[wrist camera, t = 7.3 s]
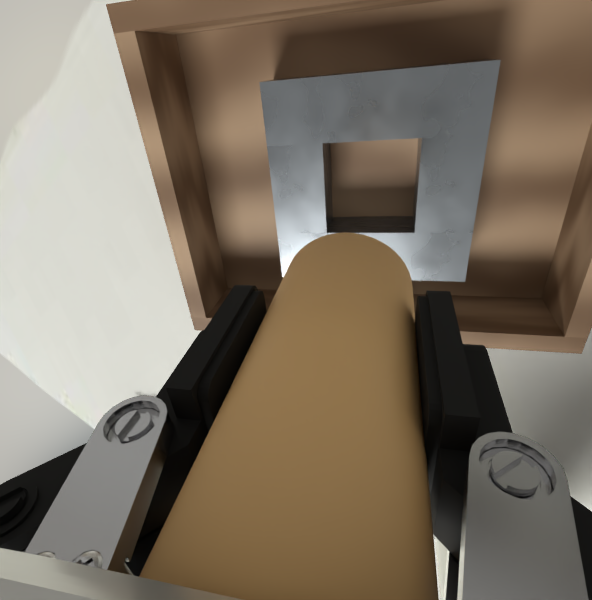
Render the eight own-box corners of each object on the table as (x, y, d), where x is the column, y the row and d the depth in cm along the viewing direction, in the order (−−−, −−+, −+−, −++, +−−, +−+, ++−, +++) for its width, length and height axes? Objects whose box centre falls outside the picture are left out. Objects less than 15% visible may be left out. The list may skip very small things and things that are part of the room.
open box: (551, 305, 28) (581, 353, 24) (221, 293, 34) (194, 330, 30) (661, -58, 18) (753, -97, 13) (161, 14, 24) (106, 4, 19)
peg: (417, 232, 11) (499, 828, 2) (408, 345, 13) (435, 870, 5) (278, 232, 12) (1, 673, 3) (291, 338, 14) (138, 768, 5)
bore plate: (458, 261, 27) (465, 281, 24) (291, 258, 30) (282, 277, 27) (488, 59, 21) (500, 59, 18) (273, 79, 23) (259, 82, 21)
